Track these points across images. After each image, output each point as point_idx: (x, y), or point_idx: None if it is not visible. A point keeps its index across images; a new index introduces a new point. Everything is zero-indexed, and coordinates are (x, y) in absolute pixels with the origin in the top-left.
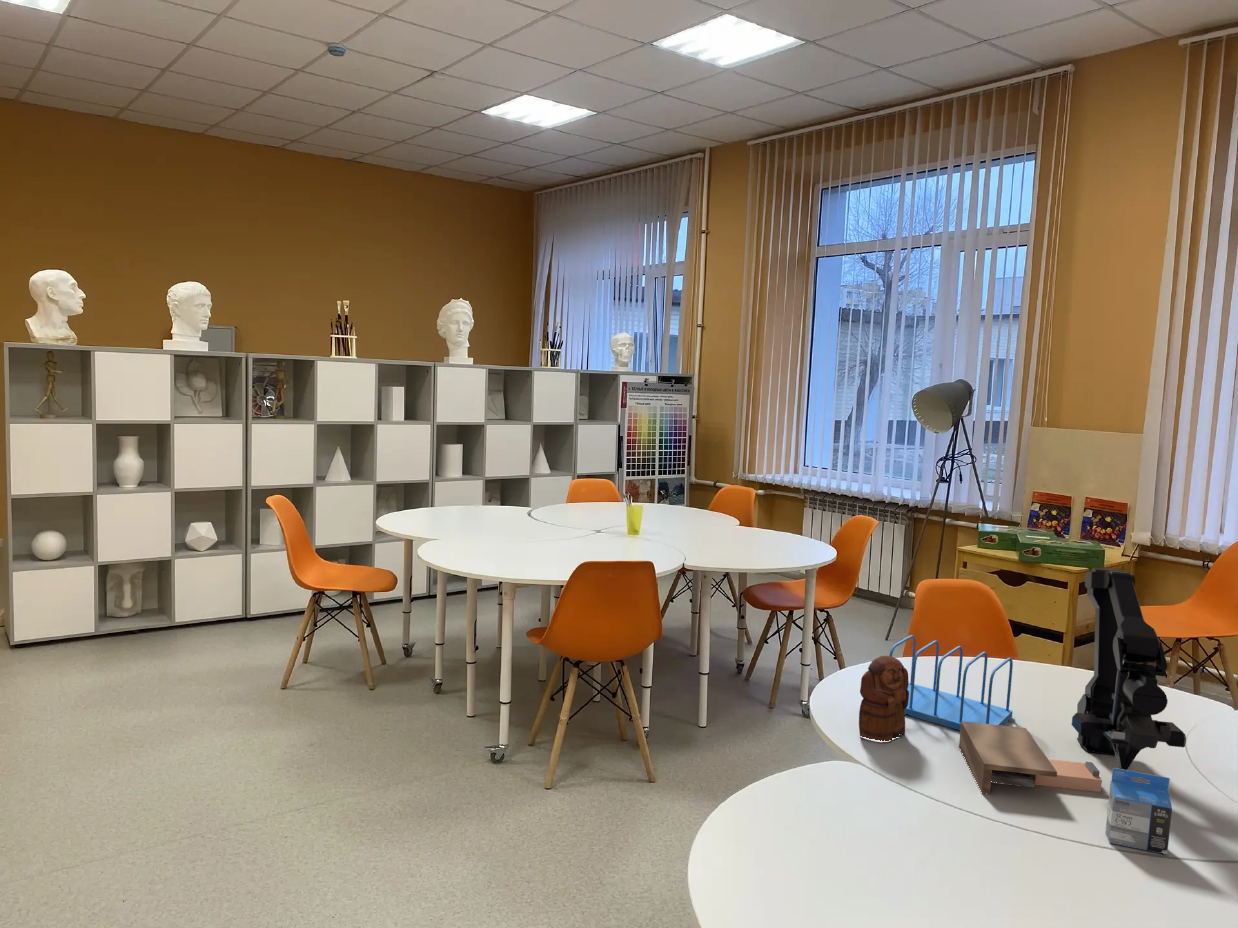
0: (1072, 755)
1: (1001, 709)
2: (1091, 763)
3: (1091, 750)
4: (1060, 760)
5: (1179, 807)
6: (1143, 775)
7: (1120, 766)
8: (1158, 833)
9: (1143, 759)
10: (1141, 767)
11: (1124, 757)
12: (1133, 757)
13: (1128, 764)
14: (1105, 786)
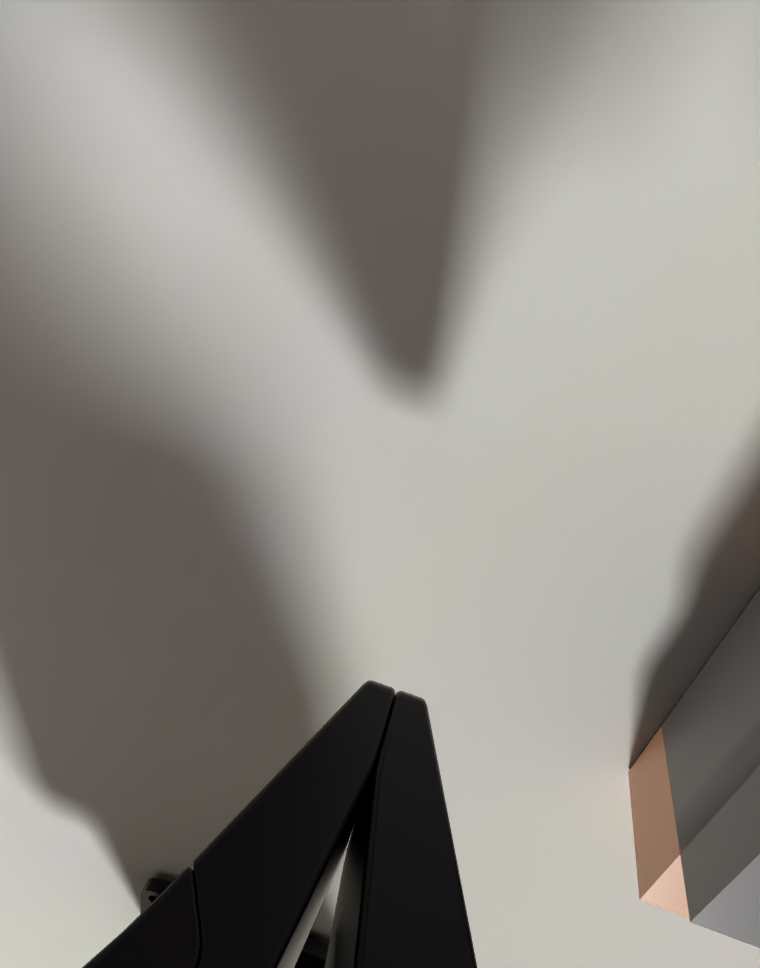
0: (489, 957)
1: None
2: (734, 907)
3: (316, 956)
4: None
5: (7, 58)
6: None
7: (431, 768)
8: None
9: (20, 809)
10: (72, 751)
11: (381, 931)
12: (204, 888)
13: (327, 767)
14: (621, 587)
